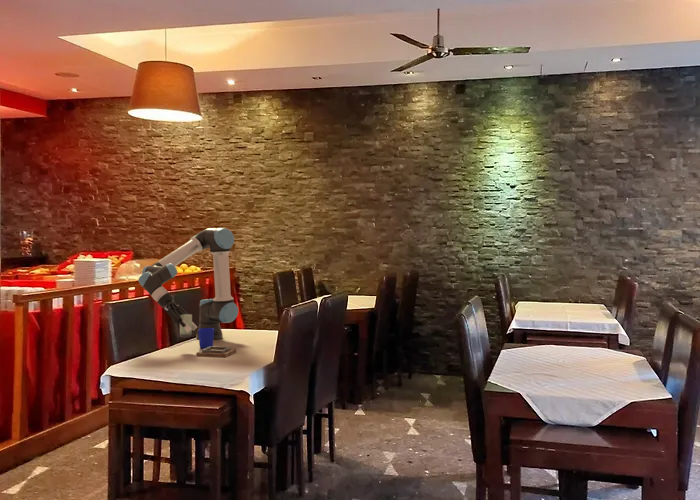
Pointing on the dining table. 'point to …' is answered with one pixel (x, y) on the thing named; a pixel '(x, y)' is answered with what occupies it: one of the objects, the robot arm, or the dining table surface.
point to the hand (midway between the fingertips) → (192, 329)
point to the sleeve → (188, 320)
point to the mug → (206, 337)
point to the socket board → (216, 351)
